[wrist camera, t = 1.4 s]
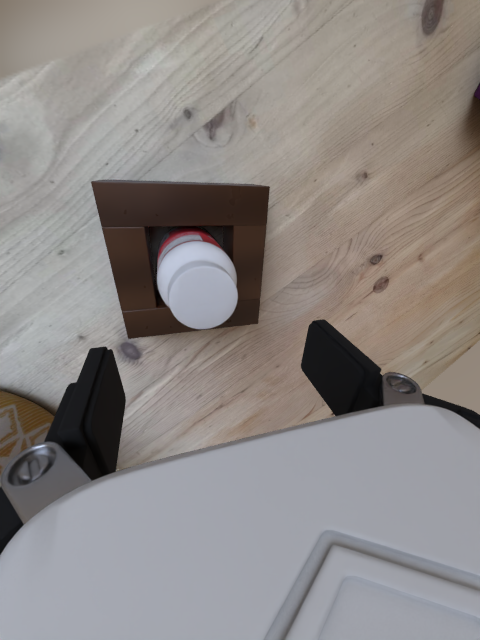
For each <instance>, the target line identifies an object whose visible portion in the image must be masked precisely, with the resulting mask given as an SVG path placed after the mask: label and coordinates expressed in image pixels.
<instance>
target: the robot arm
mask: <svg viewBox="0 0 480 640" xmlns="http://www.w3.org/2000/svg"><path fill="white" fill-rule="evenodd" d="M301 368H302V371H303V372H304V373H305V375H306V376H307V378H308V379H309V380H310V382H311V383H312V384H313V386H314V387H315V388H316V390H317V391H318V393H319V394H320V395H321V397H322V398H323V399H324V401H325V402H326V403H327V405H328V406H329V408H330V409H331V410H332V412H333V413H334V414H335V417H331V418H326V419H322V420H318V421H314V422H309V423H305V424H301V425H297V426H293V427H288V428H284V429H280V430H276V431H272V432H268V433H263V434H259V435H255V436H251V437H247V438H243V439H239V440H235V441H230V442H226V443H222V444H218V445H214V446H210V447H206V448H202V449H198V450H194V451H190V452H186V453H182V454H178V455H174V456H170V457H166V458H163V459H159V460H155V461H151V462H147V463H144V464H140V465H136V466H133V467H130V468H126V469H123V470H120V471H117V472H115V471H116V464H117V458H118V451H119V444H120V437H121V430H122V423H123V416H124V409H125V402H126V399H125V393H124V389H123V386H122V382H121V379H120V375H119V372H118V368H117V365H116V361H115V357H114V354H113V351H112V350H111V349H110V350H108V349H107V347H99V348H91V349H90V350H89V353H88V355H87V358H86V360H85V363H84V365H83V368H82V370H81V373H80V376H79V378H78V381H77V382H76V383H71V384H69V385H68V387H67V389H66V391H65V394H64V396H63V398H62V401H61V403H60V405H59V408H58V410H57V412H56V415H55V417H54V419H53V422H52V424H51V426H50V429H49V431H48V433H47V436H46V438H45V440H44V442H41V443H38V444H35V445H32V446H30V447H29V448H27V449H25V450H23V451H22V452H20V453H19V454H18V455H16V456H15V457H14V458H13V459H12V460H11V461H10V462H9V463H8V464H7V466H6V467H5V469H4V471H3V472H2V475H1V479H0V483H1V487H0V640H480V415H479V414H477V413H476V412H474V411H472V410H469V409H467V408H464V407H461V406H458V405H455V404H452V403H449V402H446V401H443V400H440V399H437V398H434V397H431V396H428V395H425V394H422V392H421V389H420V387H419V385H418V384H417V383H416V382H415V381H414V380H412V379H411V378H409V377H407V376H405V375H403V374H400V373H395V372H389V373H385V374H384V375H383V376H382V375H381V374H380V371H381V368H380V367H378V366H377V365H376V364H375V363H374V362H373V361H372V360H370V359H369V358H368V357H367V356H366V355H365V354H364V353H362V352H361V351H360V350H359V349H358V348H357V347H356V346H354V345H353V344H352V343H351V342H350V341H349V340H348V339H346V338H345V337H344V336H343V335H342V334H341V333H340V332H338V331H337V330H336V329H335V328H334V327H333V326H332V325H330V324H329V323H328V322H327V321H326V320H316V321H313V322H312V323H311V324H310V325H309V328H308V333H307V338H306V343H305V348H304V353H303V358H302V363H301Z"/></svg>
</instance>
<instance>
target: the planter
mask: <svg viewBox="0 0 480 640" xmlns="http://www.w3.org/2000/svg"><path fill="white" fill-rule="evenodd" d="M53 419H54V416H53V415H52V414H51V413H49V412H48V411H47V410H45V409H43V408H42V407H40V406H39V405H37V404H35V403H33V402H31V401H29V400H27V399H24V398H22V397H19V396H16V395H13V394H11V393H7V392H4V391H0V479H1V475H2V472H3V471H4V469H5V467H6V466H7V464H8V463H9V462H10V461H11V460H12V459H13V458H14V457H15V456H16V455H18V454H19V453H20V452H22V451H23V450H25V449H27V448H29V447H30V446H32V445H35V444H38V443H41V442H44V440H45V438H46V436H47V433H48V431H49V429H50V426H51V424H52V422H53ZM0 487H1V483H0Z"/></svg>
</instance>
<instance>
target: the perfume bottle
mask: <svg viewBox="0 0 480 640" xmlns="http://www.w3.org/2000/svg"><path fill="white" fill-rule="evenodd" d="M475 97H476V98H478V99H479V100H480V84H479V86H478V88H477V90H476V92H475Z"/></svg>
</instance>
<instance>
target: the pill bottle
mask: <svg viewBox="0 0 480 640" xmlns="http://www.w3.org/2000/svg"><path fill="white" fill-rule="evenodd" d="M157 258H158V260H157V285H158V290H159V293H160V295H161V297H162V299H163V301H164V302H165V304H166V305H167V306H168V307H169V308H170V309H171V311H172V313H173V315H174V316H175V317H176V319H177V320H178V321H180V322H181V323H182V324H184V325H186V326H188V327H191V328H195V329H209V328H213V327H216V326H218V325H220V324H222V323H223V322H225V321H226V320H227V319H228V318H229V317H230V316H231V315H232V313H233V312H234V310H235V307H236V305H237V300H238V292H237V288H236V285H237V276H236V271H235V267H234V265H233V263H232V261H231V260H230V258H229V257H228V255H227V254H226V253H225V252H224V250H223V249H222V248H221V247H220V246H219V244H218V243H217V242H216V241H215V240H214V238H213V237H212V236H211V235H210V234H209V233H208V232H207V231H205V230H204V229H202V228H200V227H197V226H178V227H175V228H173V229H171V230H170V231H168V232H167V233H166V234H165V236H164V237H163V238H162V240H161V242H160V244H159V248H158V255H157Z"/></svg>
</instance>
